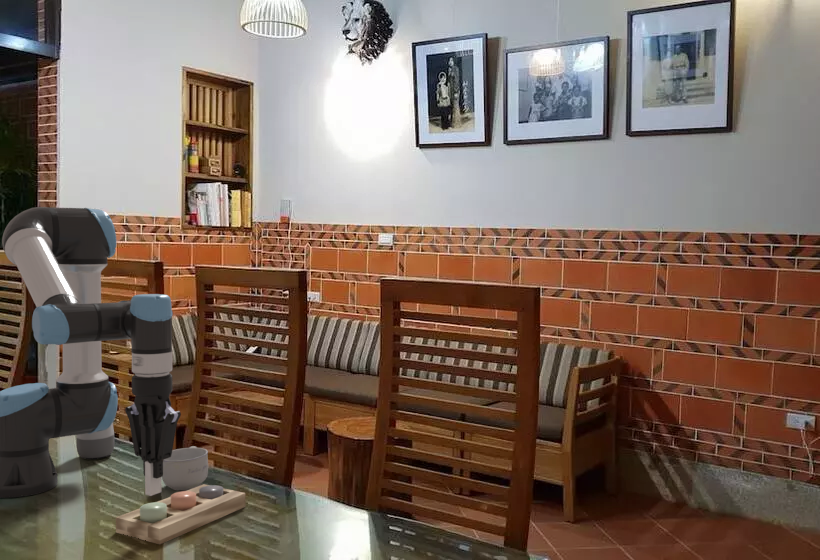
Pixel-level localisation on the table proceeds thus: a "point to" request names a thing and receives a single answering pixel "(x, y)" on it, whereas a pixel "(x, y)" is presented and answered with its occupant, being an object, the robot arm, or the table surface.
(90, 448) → the smart speaker
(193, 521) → the button panel
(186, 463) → the teacup
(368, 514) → the table surface
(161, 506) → the sage button
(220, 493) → the charcoal button
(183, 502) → the terracotta button
